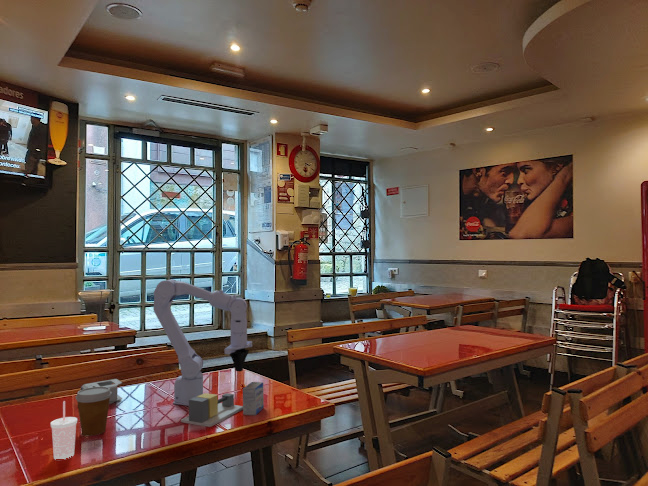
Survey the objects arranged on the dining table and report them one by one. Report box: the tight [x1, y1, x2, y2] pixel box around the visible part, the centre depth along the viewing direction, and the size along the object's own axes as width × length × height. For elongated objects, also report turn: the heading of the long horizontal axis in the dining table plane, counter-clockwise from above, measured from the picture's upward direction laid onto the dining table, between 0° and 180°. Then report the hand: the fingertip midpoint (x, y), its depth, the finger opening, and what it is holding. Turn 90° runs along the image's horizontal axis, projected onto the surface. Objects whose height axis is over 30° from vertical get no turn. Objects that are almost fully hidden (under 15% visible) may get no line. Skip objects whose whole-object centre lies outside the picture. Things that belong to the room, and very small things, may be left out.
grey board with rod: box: [180, 393, 243, 428], centre depth 151 cm, size 11×18×7 cm, turn 156°
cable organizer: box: [79, 378, 123, 405], centre depth 167 cm, size 7×12×12 cm
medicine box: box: [242, 381, 265, 416], centre depth 155 cm, size 8×4×9 cm, turn 168°
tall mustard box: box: [197, 392, 219, 418], centre depth 148 cm, size 5×4×6 cm
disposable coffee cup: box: [75, 387, 112, 437], centre depth 138 cm, size 10×10×12 cm
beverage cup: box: [50, 400, 78, 460], centre depth 122 cm, size 6×6×14 cm
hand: (239, 370), depth 167 cm, fingers closed
